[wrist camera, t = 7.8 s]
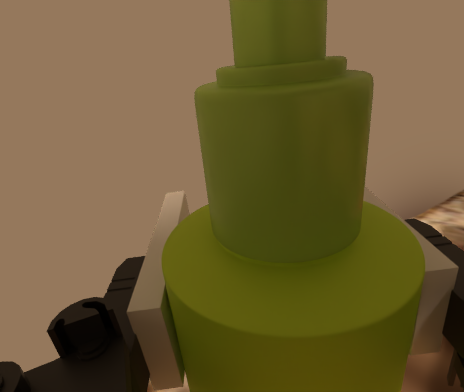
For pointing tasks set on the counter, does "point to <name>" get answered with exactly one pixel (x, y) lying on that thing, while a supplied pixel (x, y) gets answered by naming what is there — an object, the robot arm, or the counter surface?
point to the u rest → (430, 371)
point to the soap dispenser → (290, 224)
